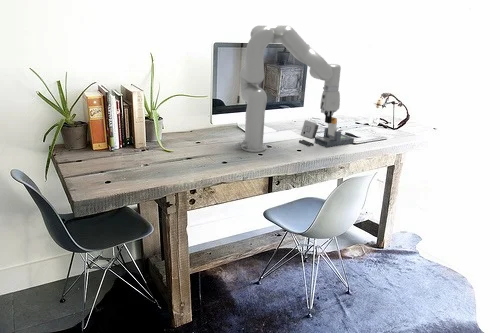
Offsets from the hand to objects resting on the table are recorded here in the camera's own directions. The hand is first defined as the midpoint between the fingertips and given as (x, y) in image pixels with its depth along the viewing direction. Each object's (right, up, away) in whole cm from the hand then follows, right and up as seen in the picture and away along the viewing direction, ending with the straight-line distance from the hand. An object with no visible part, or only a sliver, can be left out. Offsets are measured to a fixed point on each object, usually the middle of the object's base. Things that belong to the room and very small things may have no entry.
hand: (327, 122), depth 208 cm
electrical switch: (-7, -6, +19) cm, 21 cm away
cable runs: (-11, -11, +3) cm, 16 cm away
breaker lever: (+3, -7, +5) cm, 9 cm away
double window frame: (+5, -11, +8) cm, 14 cm away
